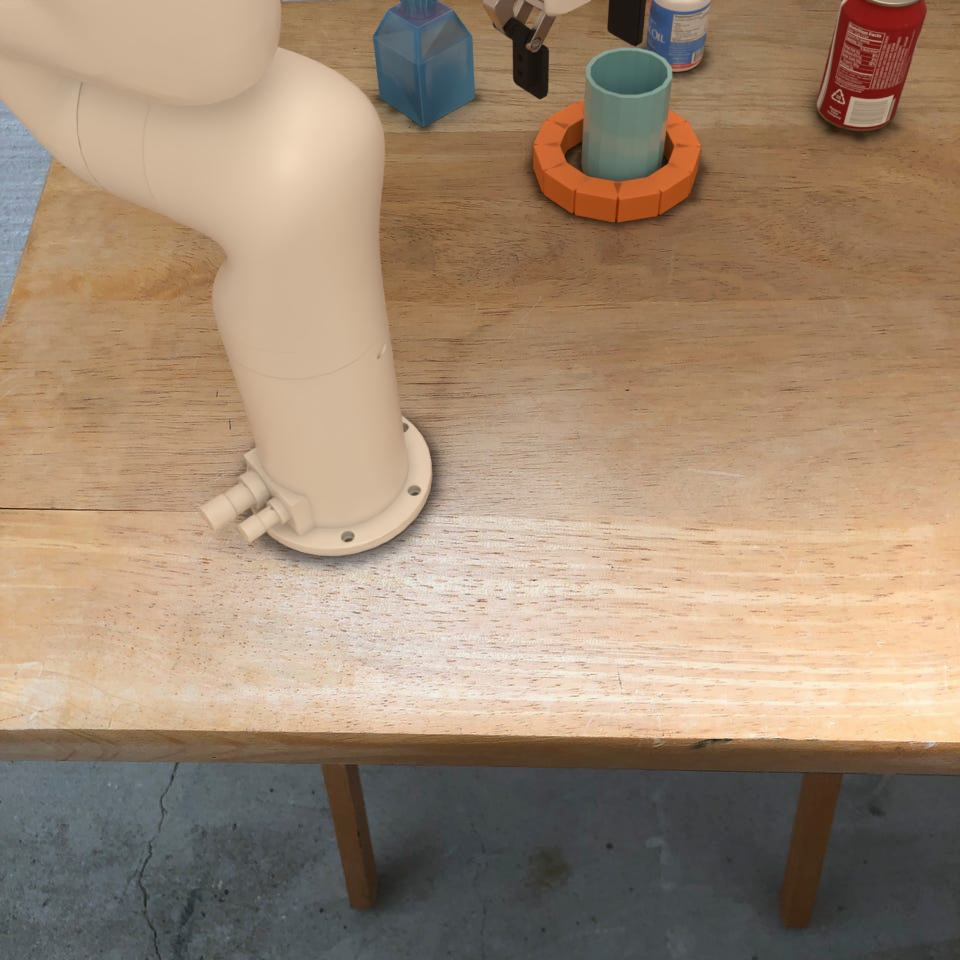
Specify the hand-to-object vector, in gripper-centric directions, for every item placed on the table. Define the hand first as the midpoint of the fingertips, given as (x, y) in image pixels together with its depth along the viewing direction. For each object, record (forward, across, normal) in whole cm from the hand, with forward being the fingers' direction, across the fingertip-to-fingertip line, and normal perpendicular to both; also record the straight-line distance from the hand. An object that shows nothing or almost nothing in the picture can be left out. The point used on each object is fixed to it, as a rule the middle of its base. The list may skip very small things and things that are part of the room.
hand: (578, 63), depth 82 cm
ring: (+12, -5, 0) cm, 13 cm away
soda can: (+12, -26, +9) cm, 30 cm away
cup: (+12, -6, 0) cm, 14 cm away
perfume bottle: (+12, 0, -19) cm, 23 cm away
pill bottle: (+12, -21, -8) cm, 25 cm away
